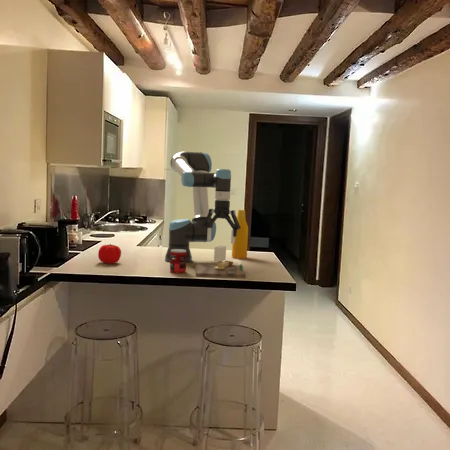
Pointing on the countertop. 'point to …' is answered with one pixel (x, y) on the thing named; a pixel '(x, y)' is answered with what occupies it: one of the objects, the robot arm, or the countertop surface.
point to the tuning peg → (220, 257)
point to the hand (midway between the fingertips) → (220, 241)
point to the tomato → (109, 254)
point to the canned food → (178, 261)
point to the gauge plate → (220, 270)
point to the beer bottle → (240, 237)
